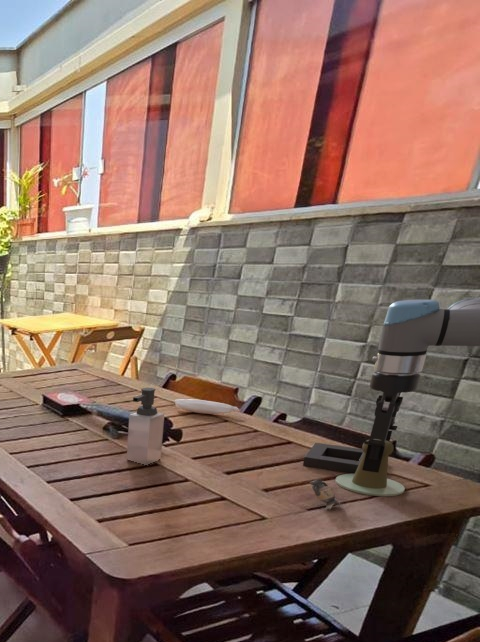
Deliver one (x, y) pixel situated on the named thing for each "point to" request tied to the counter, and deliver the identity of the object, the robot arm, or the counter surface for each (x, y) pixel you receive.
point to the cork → (373, 478)
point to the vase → (324, 493)
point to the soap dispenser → (145, 430)
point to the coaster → (390, 490)
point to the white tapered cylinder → (204, 406)
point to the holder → (320, 459)
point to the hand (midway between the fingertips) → (374, 463)
